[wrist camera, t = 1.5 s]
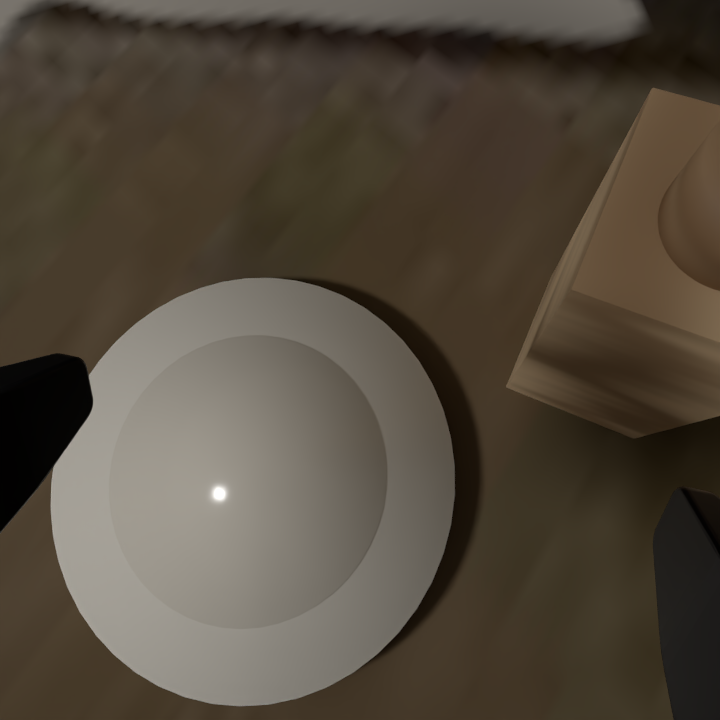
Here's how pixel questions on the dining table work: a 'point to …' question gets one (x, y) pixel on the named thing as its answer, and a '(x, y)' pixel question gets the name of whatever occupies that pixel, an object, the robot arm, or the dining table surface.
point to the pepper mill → (639, 284)
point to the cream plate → (254, 492)
